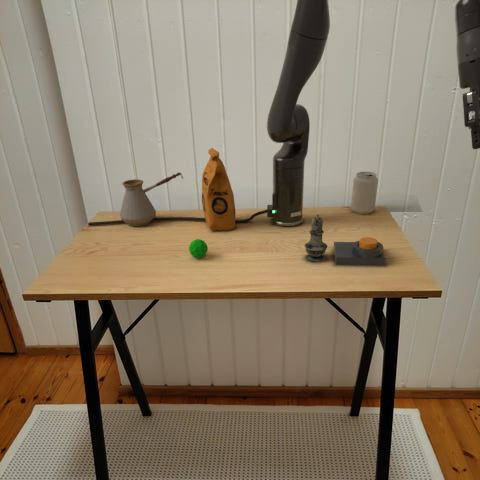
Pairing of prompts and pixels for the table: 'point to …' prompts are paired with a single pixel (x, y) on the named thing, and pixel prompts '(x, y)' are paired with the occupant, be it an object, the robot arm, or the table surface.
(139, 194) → the coffee pot
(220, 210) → the coffee package
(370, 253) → the button box
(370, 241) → the button
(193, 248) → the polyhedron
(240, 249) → the table surface
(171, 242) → the table surface
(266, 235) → the table surface
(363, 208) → the can
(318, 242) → the salt shaker
